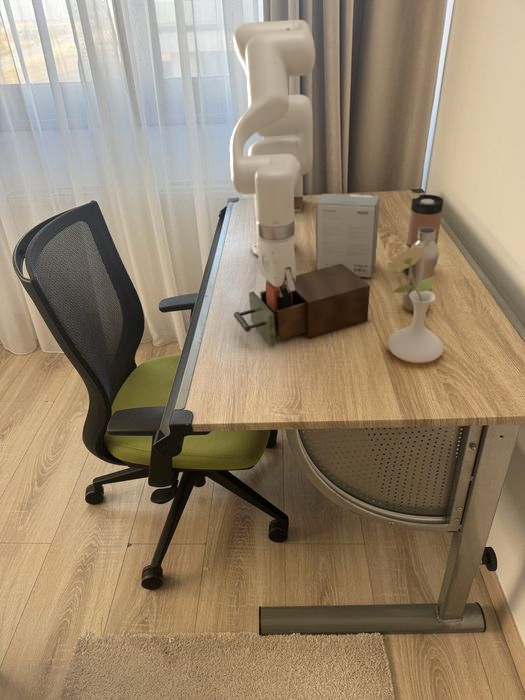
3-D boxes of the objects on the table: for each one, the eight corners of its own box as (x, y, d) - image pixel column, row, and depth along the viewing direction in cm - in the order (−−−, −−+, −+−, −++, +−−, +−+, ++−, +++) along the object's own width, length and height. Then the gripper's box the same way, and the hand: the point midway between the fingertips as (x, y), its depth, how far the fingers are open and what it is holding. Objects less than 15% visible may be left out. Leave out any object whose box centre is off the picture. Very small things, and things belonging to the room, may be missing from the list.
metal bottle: (398, 303, 126) (406, 225, 114) (425, 300, 126) (436, 223, 115) (406, 316, 121) (416, 237, 109) (434, 314, 121) (447, 234, 109)
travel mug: (433, 279, 135) (445, 205, 123) (403, 278, 136) (412, 204, 124) (431, 266, 141) (442, 194, 129) (403, 265, 142) (411, 194, 130)
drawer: (250, 351, 111) (247, 321, 107) (231, 326, 120) (228, 297, 115) (328, 328, 117) (329, 298, 113) (305, 305, 126) (305, 277, 121)
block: (266, 303, 117) (265, 282, 113) (284, 299, 118) (283, 277, 115) (274, 312, 113) (273, 291, 110) (292, 307, 114) (292, 286, 111)
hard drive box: (375, 266, 143) (381, 195, 131) (371, 278, 137) (376, 206, 125) (321, 260, 147) (322, 192, 136) (314, 273, 141) (315, 202, 130)
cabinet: (308, 339, 116) (308, 302, 110) (284, 313, 125) (283, 278, 120) (367, 321, 120) (370, 285, 115) (340, 297, 130) (341, 263, 124)
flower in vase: (432, 335, 114) (449, 228, 99) (449, 366, 105) (471, 254, 90) (374, 339, 114) (382, 233, 99) (386, 370, 105) (397, 259, 90)
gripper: (244, 218, 110) (250, 292, 121) (276, 247, 97) (280, 327, 108) (275, 211, 112) (278, 285, 123) (311, 239, 99) (312, 318, 110)
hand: (279, 304), depth 115 cm, fingers closed on block, 4 cm apart
